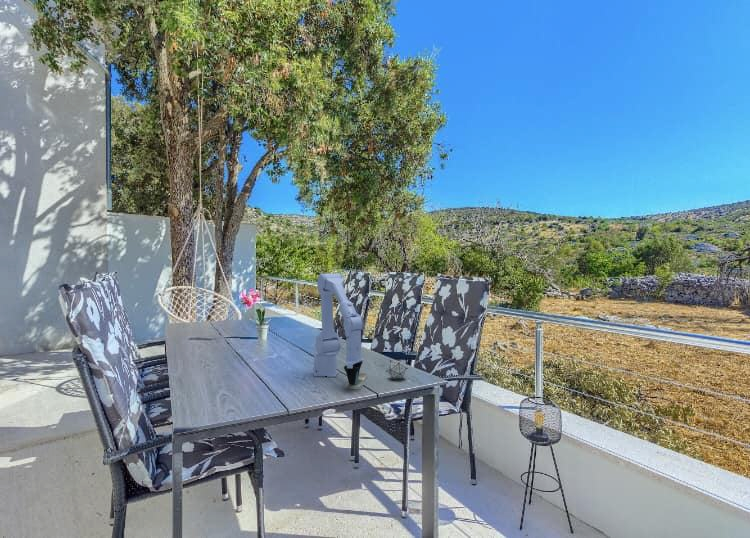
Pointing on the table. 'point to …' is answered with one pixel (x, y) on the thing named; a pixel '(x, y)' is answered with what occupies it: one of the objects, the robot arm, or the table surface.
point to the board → (359, 382)
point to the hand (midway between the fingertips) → (353, 382)
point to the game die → (396, 369)
